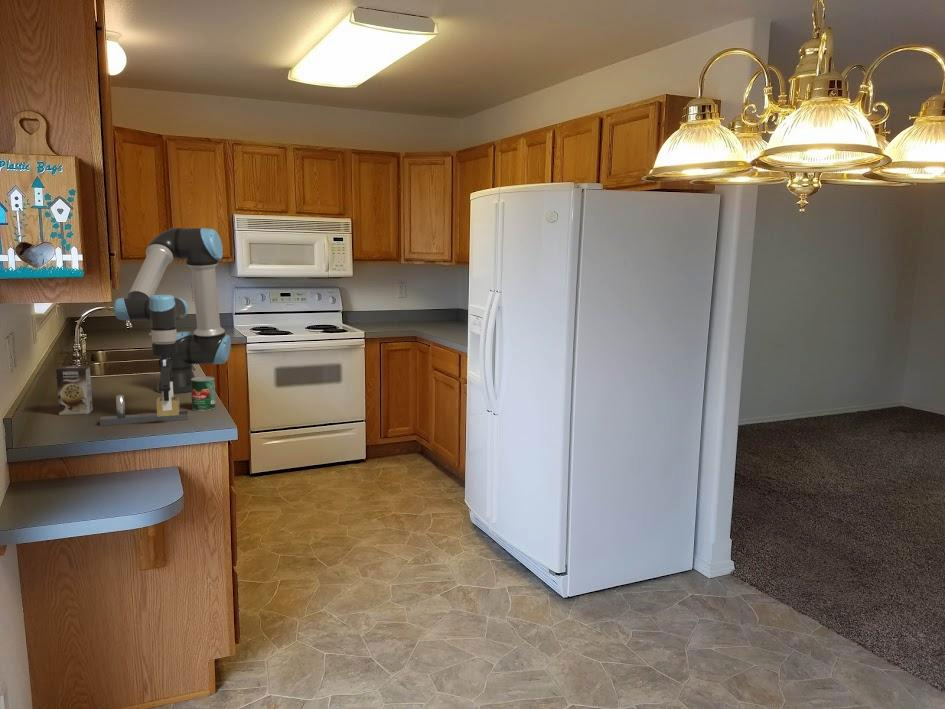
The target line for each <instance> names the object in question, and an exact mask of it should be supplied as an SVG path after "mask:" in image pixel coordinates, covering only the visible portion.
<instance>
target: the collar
mask: <svg viewBox="0 0 945 709" xmlns="http://www.w3.org/2000/svg"><path fill="white" fill-rule="evenodd" d="M171 399H172V400H171V402H172V410H166V411H163V407H162V396H160V397H157V399H156V402H155V403H156V413H157V417H158V416H173V415H179V412H180V411H181V410H180V409H181V408H180V397H179V396H178V395H177V396H174V397H171Z"/></svg>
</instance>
